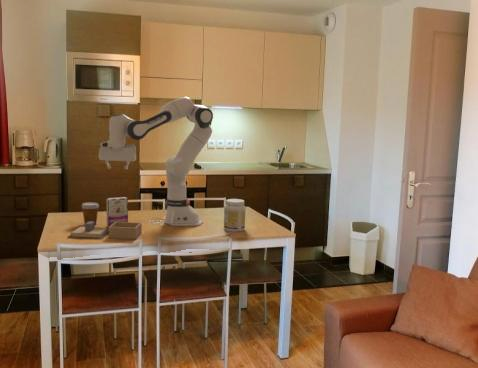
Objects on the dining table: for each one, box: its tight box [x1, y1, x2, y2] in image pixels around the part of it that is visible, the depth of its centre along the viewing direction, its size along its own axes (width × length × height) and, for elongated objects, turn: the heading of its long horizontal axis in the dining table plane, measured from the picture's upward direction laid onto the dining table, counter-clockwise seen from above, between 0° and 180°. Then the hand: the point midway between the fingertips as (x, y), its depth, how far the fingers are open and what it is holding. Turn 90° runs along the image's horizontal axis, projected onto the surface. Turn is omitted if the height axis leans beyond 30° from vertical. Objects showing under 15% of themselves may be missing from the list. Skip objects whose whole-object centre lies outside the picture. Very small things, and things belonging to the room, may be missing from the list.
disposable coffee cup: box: [81, 201, 100, 226], centre depth 278 cm, size 10×10×12 cm
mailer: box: [108, 221, 143, 240], centre depth 257 cm, size 14×12×6 cm
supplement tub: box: [223, 198, 247, 233], centre depth 277 cm, size 12×12×17 cm
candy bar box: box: [105, 196, 129, 229], centre depth 275 cm, size 11×5×16 cm, turn 118°
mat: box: [67, 230, 109, 240], centre depth 258 cm, size 18×16×1 cm
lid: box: [70, 221, 109, 238], centre depth 257 cm, size 15×13×6 cm
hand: (117, 168), depth 269 cm, fingers open, 8 cm apart
